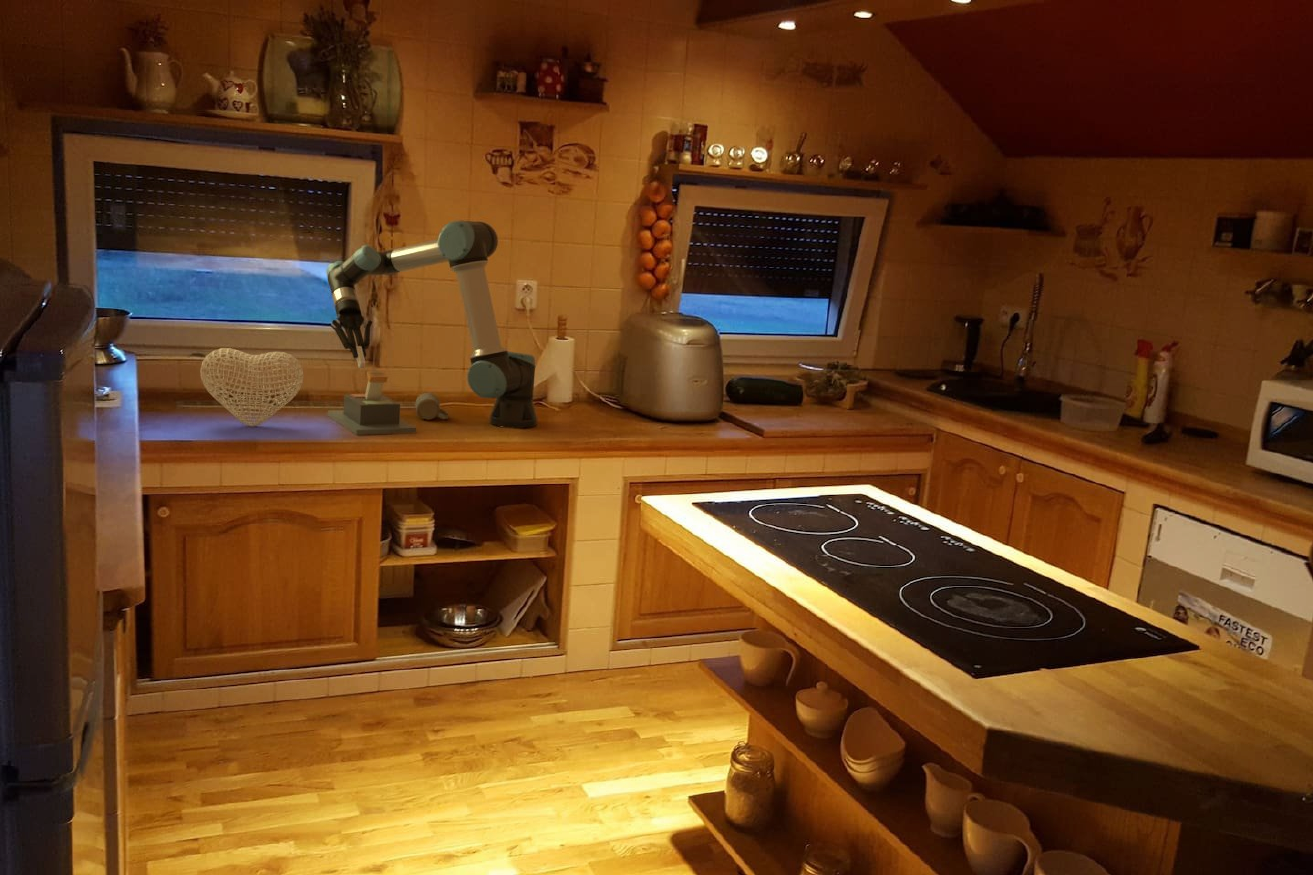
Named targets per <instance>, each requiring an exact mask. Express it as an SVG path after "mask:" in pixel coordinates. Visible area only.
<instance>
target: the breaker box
mask: <svg viewBox="0 0 1313 875" xmlns="http://www.w3.org/2000/svg"><path fill="white" fill-rule="evenodd" d="M400 412H401V403H399V402H397V401H395V400H393V399H391V398H390V397H387V396H386V395H384V394H383V393H381V396H380V399H378V400H367V399H366V397H365V393H351V394H343V409H339V410H338V409H337V410H334V409H333V410H327V416H328V417H330V418H331V419H333V420H334V421H336V423H338V424H340V425H341V426H342V427H344V428H345V429H347V430H348V431H349V432H352V433H353V434H354V435H355V436H361V435H362V436H363V435H366V434H367V435H368V434H369V435H384V434H385V435H387V434H390V433H393V434H411V433H413V432H416V433H417V427H416V426H414V425H412V424H411V423H409V422H407V421H406V420H404V419H402V418H400V417H401V416H400V415H401V413H400ZM413 434H414V433H413Z"/></svg>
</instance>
